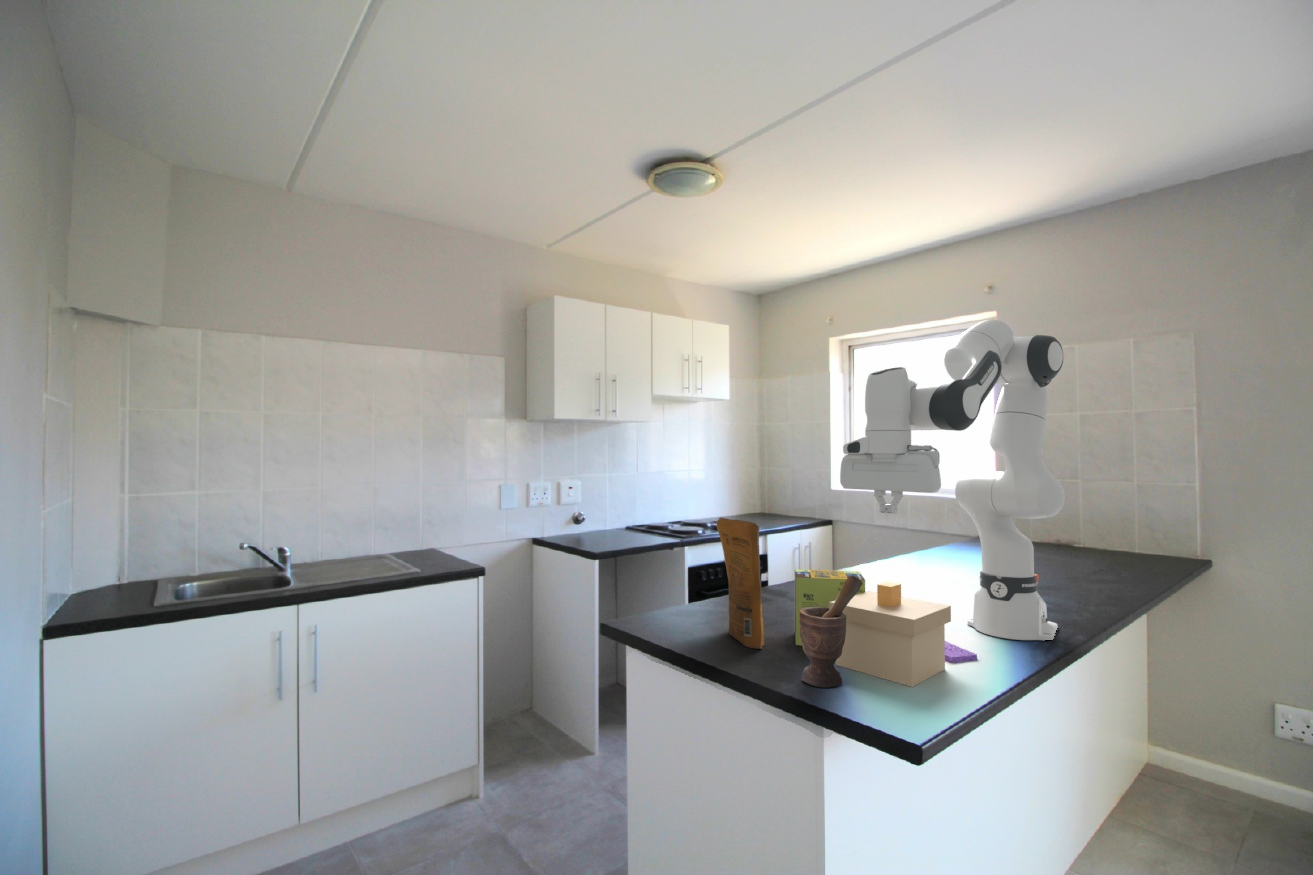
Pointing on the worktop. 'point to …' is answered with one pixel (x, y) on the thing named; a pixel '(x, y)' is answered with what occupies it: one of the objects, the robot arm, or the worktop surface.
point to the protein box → (818, 590)
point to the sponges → (957, 654)
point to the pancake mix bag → (743, 580)
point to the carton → (893, 653)
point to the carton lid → (895, 611)
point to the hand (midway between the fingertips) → (888, 513)
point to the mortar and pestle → (826, 636)
